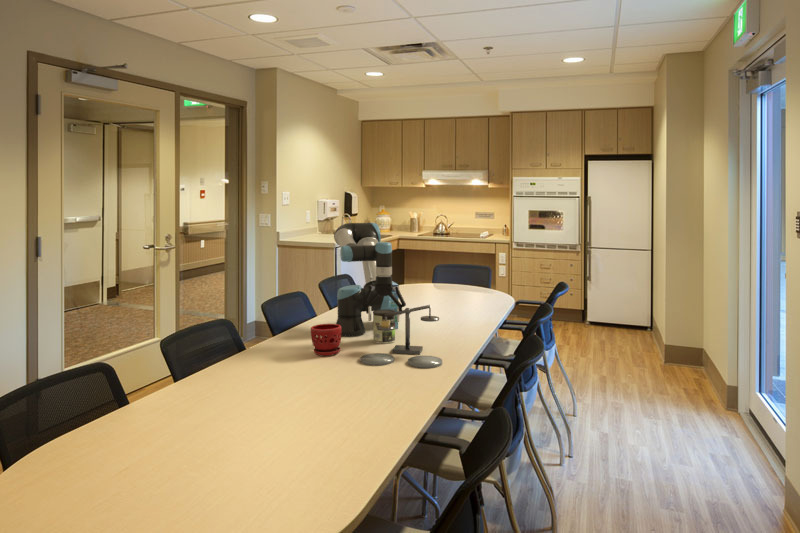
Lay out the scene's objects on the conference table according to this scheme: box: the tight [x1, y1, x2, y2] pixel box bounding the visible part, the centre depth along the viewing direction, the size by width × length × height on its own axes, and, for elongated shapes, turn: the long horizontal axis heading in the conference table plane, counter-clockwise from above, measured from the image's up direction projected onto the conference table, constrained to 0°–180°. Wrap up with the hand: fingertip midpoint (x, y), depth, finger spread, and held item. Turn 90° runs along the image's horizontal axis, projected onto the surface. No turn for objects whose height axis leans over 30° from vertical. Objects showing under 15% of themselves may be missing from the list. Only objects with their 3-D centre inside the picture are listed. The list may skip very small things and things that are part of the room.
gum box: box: [388, 280, 400, 330], centre depth 304 cm, size 20×5×23 cm, turn 14°
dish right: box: [407, 355, 443, 369], centre depth 237 cm, size 14×14×1 cm
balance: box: [377, 304, 440, 356], centre depth 253 cm, size 27×8×21 cm, turn 79°
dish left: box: [359, 352, 395, 367], centre depth 241 cm, size 14×14×1 cm
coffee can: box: [372, 310, 396, 345], centre depth 272 cm, size 10×10×14 cm
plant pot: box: [310, 323, 342, 357], centre depth 251 cm, size 13×13×12 cm
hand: (384, 321), depth 271 cm, fingers open, 13 cm apart
